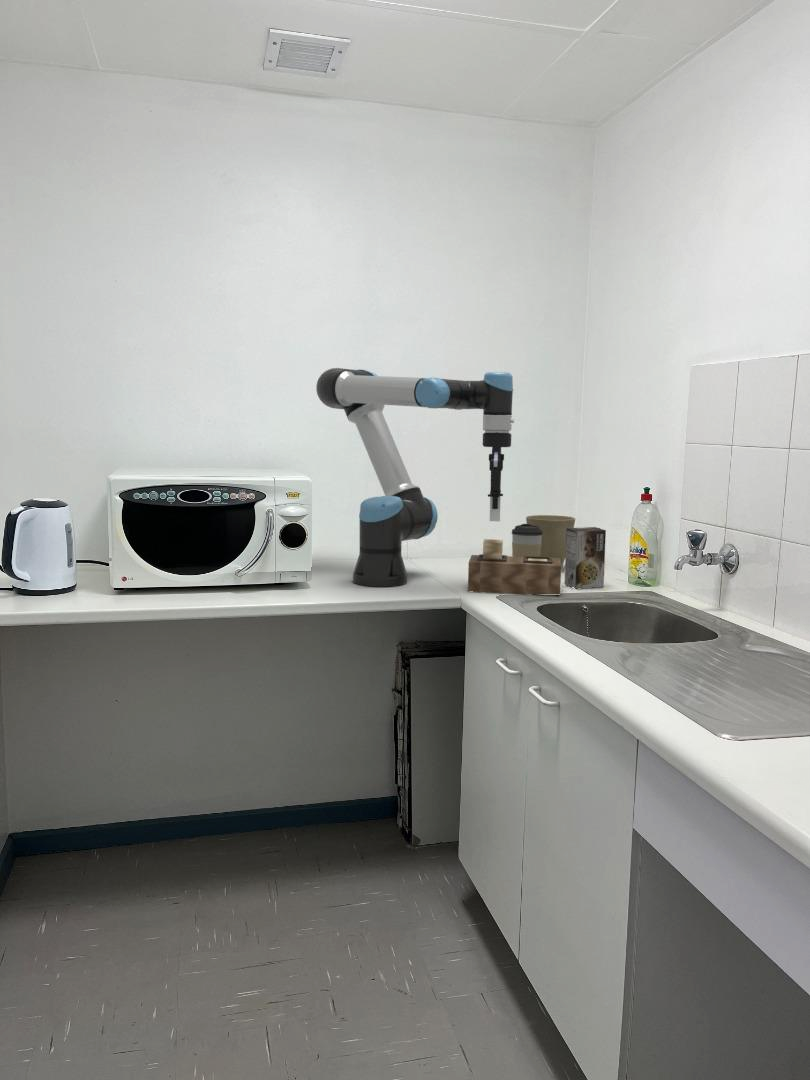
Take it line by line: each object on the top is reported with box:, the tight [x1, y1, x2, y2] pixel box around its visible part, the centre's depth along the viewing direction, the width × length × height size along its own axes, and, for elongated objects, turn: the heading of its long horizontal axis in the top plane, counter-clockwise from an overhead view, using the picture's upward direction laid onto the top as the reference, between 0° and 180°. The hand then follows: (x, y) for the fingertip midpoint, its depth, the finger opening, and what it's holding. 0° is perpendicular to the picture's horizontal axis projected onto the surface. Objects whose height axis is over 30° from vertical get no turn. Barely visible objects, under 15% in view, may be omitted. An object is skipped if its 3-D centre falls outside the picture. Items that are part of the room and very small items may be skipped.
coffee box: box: [563, 526, 607, 589], centre depth 227 cm, size 9×6×16 cm
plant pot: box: [525, 514, 576, 568], centre depth 254 cm, size 15×15×16 cm
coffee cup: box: [511, 523, 543, 557], centre depth 241 cm, size 9×9×15 cm
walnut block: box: [467, 553, 562, 595], centre depth 222 cm, size 24×12×9 cm, turn 82°
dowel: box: [482, 538, 504, 559], centre depth 222 cm, size 5×5×6 cm
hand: (494, 520), depth 220 cm, fingers closed
